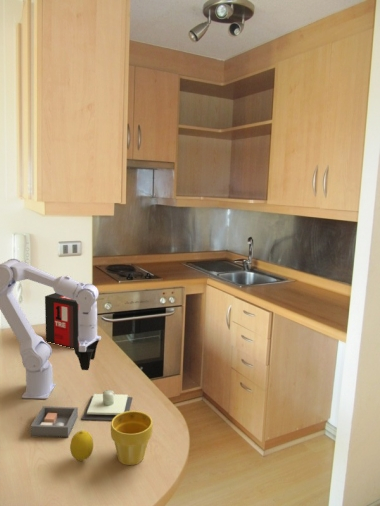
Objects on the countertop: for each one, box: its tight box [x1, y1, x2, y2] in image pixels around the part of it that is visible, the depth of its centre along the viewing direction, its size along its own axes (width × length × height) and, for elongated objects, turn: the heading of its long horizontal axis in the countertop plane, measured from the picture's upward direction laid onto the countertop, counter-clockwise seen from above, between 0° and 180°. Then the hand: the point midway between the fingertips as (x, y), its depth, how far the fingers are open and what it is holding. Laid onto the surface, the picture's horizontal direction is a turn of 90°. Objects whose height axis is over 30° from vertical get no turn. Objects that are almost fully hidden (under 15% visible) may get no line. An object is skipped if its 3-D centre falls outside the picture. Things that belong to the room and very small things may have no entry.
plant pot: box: [110, 410, 154, 466], centre depth 106 cm, size 10×10×10 cm
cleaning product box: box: [44, 292, 79, 350], centre depth 176 cm, size 16×9×20 cm, turn 66°
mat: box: [81, 395, 133, 422], centre depth 128 cm, size 13×13×1 cm
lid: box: [87, 389, 129, 415], centre depth 128 cm, size 11×11×5 cm
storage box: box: [30, 405, 79, 439], centre depth 118 cm, size 10×10×3 cm
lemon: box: [69, 430, 94, 462], centre depth 104 cm, size 6×6×8 cm
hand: (88, 364), depth 134 cm, fingers open, 7 cm apart
